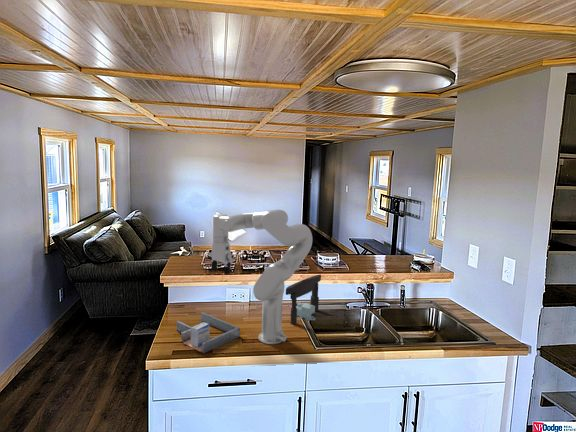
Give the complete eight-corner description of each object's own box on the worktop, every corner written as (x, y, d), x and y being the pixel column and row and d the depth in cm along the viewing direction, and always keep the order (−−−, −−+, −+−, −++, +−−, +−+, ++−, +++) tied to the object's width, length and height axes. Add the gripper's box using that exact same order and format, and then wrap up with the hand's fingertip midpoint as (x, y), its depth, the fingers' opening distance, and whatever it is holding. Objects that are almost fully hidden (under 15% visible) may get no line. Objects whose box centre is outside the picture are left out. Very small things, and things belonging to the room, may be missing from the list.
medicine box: (197, 347, 183) (197, 329, 182) (190, 345, 186) (190, 327, 184) (209, 341, 190) (209, 323, 189) (202, 338, 192) (202, 321, 191)
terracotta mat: (216, 344, 188) (216, 343, 188) (200, 352, 180) (200, 351, 180) (199, 336, 195) (199, 335, 195) (183, 343, 188) (183, 342, 188)
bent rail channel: (239, 336, 196) (239, 327, 196) (203, 353, 179) (203, 343, 179) (202, 320, 214) (202, 312, 213) (166, 333, 197) (166, 325, 196)
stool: (274, 283, 211) (309, 270, 237) (273, 321, 214) (308, 304, 240) (298, 290, 202) (332, 275, 228) (297, 330, 205) (330, 311, 231)
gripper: (238, 240, 199) (237, 274, 202) (215, 235, 210) (215, 267, 213) (226, 243, 194) (226, 277, 196) (203, 237, 204) (203, 270, 207)
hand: (220, 271), depth 205 cm, fingers open, 9 cm apart
